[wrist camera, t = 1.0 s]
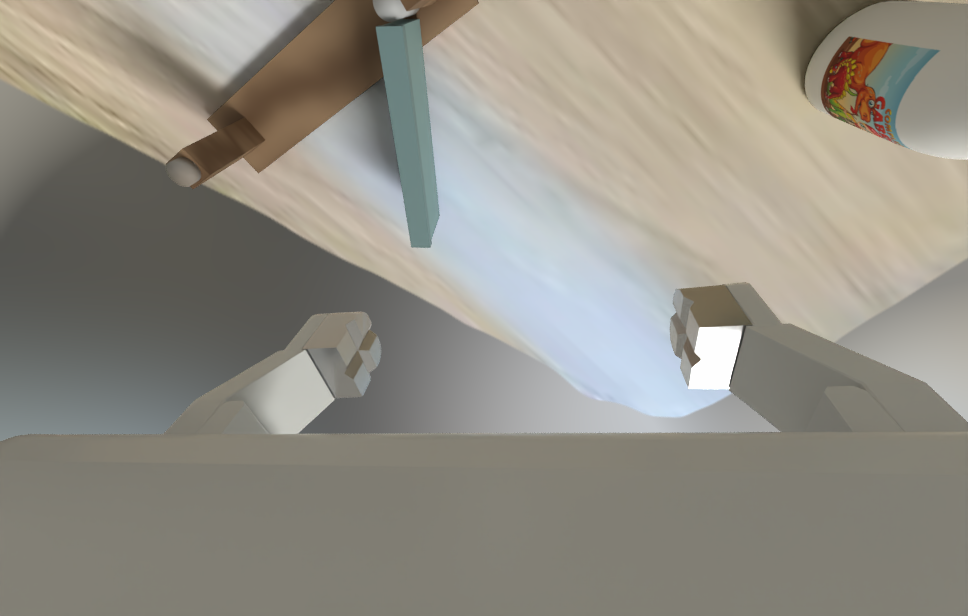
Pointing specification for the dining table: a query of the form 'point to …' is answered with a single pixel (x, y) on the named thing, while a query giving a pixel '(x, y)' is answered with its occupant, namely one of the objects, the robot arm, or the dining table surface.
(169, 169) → the gate frame
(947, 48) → the milk bottle
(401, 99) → the gate
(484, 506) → the robot arm
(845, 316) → the dining table surface
